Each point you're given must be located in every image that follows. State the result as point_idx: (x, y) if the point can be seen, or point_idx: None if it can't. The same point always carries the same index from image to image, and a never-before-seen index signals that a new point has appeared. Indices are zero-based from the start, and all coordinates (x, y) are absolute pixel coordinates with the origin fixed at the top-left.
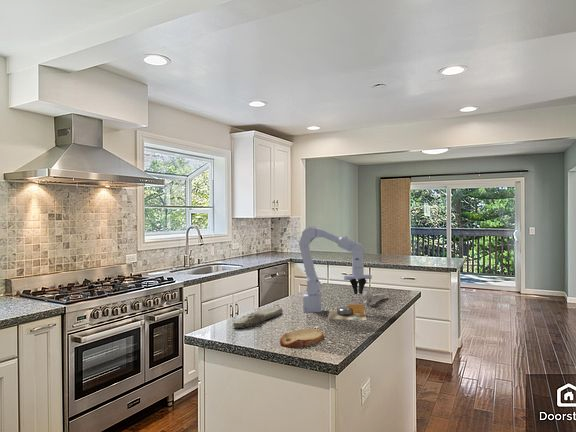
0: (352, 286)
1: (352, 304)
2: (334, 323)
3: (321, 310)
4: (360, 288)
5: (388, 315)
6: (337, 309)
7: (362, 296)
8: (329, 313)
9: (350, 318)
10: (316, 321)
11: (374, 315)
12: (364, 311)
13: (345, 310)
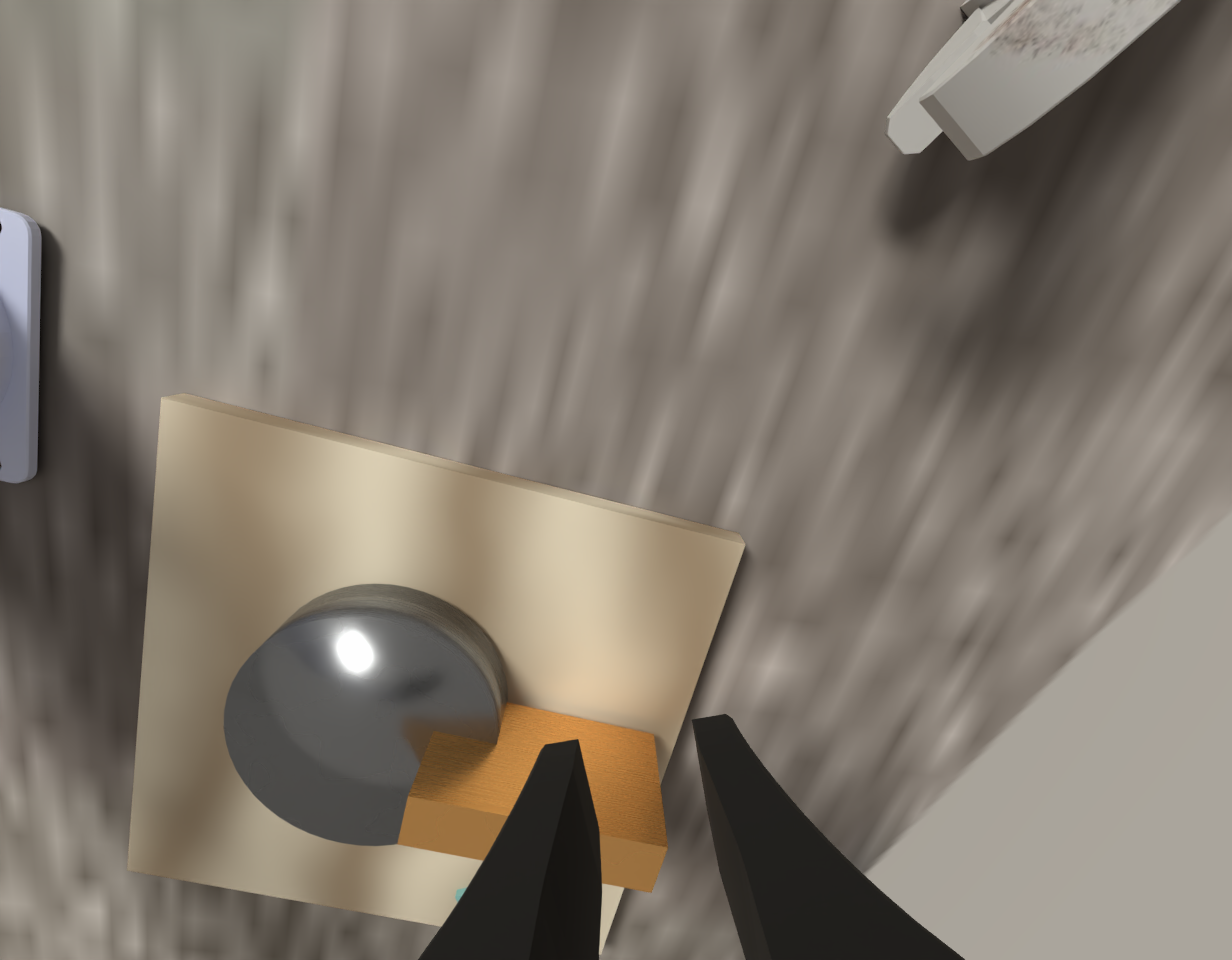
0: (442, 937)
1: (459, 852)
2: (230, 929)
3: (16, 366)
4: (745, 927)
5: (985, 704)
6: (231, 750)
7: (933, 103)
8: (153, 626)
9: (426, 882)
10: (6, 843)
11: (807, 682)
12: (715, 584)
13: (356, 817)
